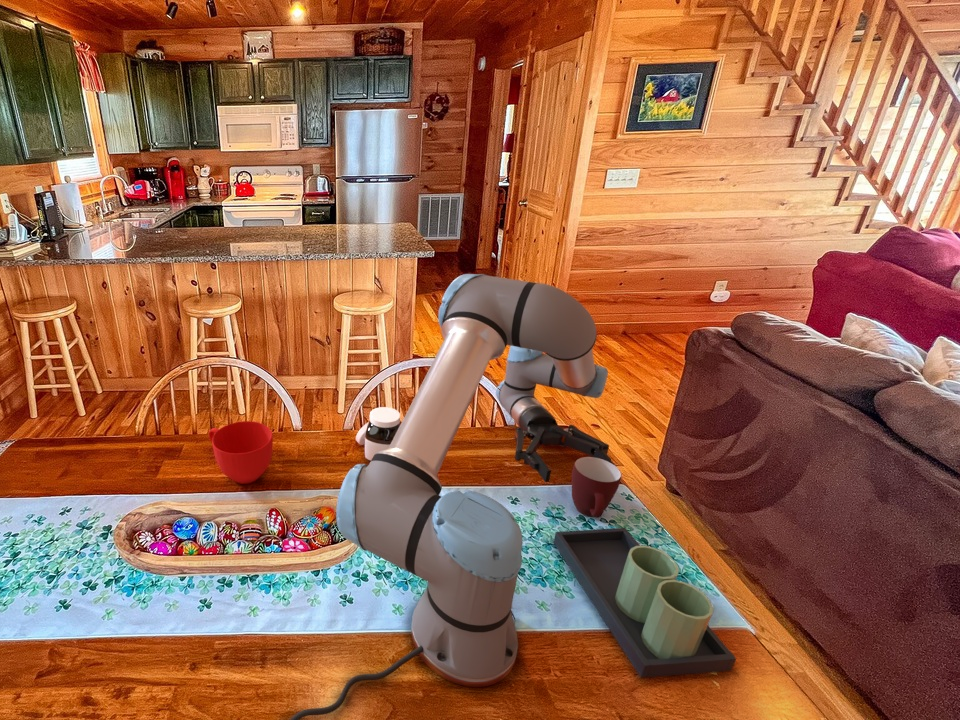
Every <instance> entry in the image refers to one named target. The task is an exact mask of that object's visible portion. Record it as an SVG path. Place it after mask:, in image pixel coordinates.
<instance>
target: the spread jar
mask: <svg viewBox="0 0 960 720" xmlns="http://www.w3.org/2000/svg"><path fill="white" fill-rule="evenodd" d="M401 423H402V420H401V413H400V412H399V411H398V410H397V409H396V408H393V407H390V406H389V407H388V406H380V407H376V408H374V409H373V408H372V410H371V411H370V412H369V421H368V422H366V423H364V424H363V425H362V427H361V428H360V429H359V430H358V432H357V433H356V436H355V441H356V442H357V443H358V445H360V446H364V457H365V459H366V461H368V462H369V463H370V462H371V460H372V458H373V456H374V454H375V453H376V452H379V451H383V450H387V449H388V448H389V446H390V444H391V442H392V440H393V438H394V436H395V435H396V433H397V431H398V429H399V427H400V425H401Z"/></svg>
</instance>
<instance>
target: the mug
mask: <svg viewBox="0 0 960 720" xmlns="http://www.w3.org/2000/svg"><path fill="white" fill-rule="evenodd" d="M615 465H616V464H615ZM615 465H613V464H612V463H610V462H608V461H606V460H603V459H600V458H595V457H593V456H582V457H579V458H577V459H576V460H575V461H574V464H573V467H572V472H571V499H572V501H573V504H574V506H575V509H576V511H577V512H578V513H579V514H581V515H582V516H585V517H588V518H598V519H599V518H601V517H602V516H603V514H604V511H606V510H607V508H608V507H609V506H610V504H611V502H612V500H613V498H614V497H615V495H616V493H617V492H618V489H619V486H620V483H621V480H622V472H621V470H620V469H619V467H618V466H617V465H616V466H617V467H616V466H615Z"/></svg>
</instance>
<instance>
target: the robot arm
mask: <svg viewBox="0 0 960 720" xmlns="http://www.w3.org/2000/svg"><path fill="white" fill-rule="evenodd" d="M438 324H439V326H440V332H441V336H442V338H443V341H442V343H441V345H440V347H439V349H438V351H437V353H436V355H435V357H434V359H433V361H432V362H431V364H430V367H429V369H428V371H427V373H426V374H425V376H424V379H423V381H422V382H421V384H420V386H419V388H418V390H417V392H416V394H415V395H414V398H413V400H412V402H411V404H410V405H409V407H408V409H407V411H406V413H405V415H404V417H403V419H402V420H401V422H402V423H401V425H400V427H399V429H398V431H397V433H396V435H395V436H394V438H393V440H392V442H391V444H390V446H389V448H388V449H387V450H383V451H379V452H376V453H375V454H374V456H373V458H372V460H371V462H369V464H366V463H357V464H355V465H354V466H353V467H351V468H350V469H349V471H348V472H347V474H346V475H345V477H344V479H343V481H342V484H341V487H340V489H339V492H338V497H337V502H336V508H335V509H336V515H335V517H336V524H337V528H338V531H339V532H340V534H341V536H342V537H343V538H344V539H345V540H347V541H349V542H351V543H352V544H354V545H356V546H357V547H359V548H360V549H361V550H362V551H364V552H367V551H368V552H369V553H371V554H373V555H375V556H377V557H379V558H381V559H383V560H385V561H386V562H389V563H391V564H392V565H395V566H397V567H398V568H400V569H402V570H404V571H406V572H408V573H409V574H412V575H414V576H415V577H417V578H420V579H421V580H424V581H426V582H427V587H426V588H425V590H424V592H423V593H422V595H421V597H420V598H419V599H418V601H417V603H416V604H415V606H414V609H413V612H412V617H411V624H410V625H411V626H410V627H411V628H410V631H411V639H412V643H413V646H414V648H415V649H413V650H411V652H408V653H407V654H406V655H404V656H403V657H401V658H400V659H398V660H397V661H396V662H394V663H393V664H392V665H391V666H390V667H388V668H386V669H385V670H382V671H380V672H377V673H361V674H358V675H355V676H353V677H352V678H350V679H349V680H348V681H347V682H346V683H345V685H344V687H343V689H342V691H341V693H340V695H339V697H338V699H337V700H335V702H334V703H332V704H331V705H329V706H326V707H315V708H306V709H303V710H301V711H298V712H297V713H296V714H294V715H293V716H292V717H291V718H290V719H289V720H300V719H303V718H305V717H309V716H321V715H322V716H323V715H327V714H331V713H333V712H336V710H338V709H339V708H340V707H341V706H342V705H343V703H344V702H345V700H346V697H347V696H348V693H349V691H350V689H351V688H352V687H353V685H355V684H357V683H359V682H362V681H377V680H381V679H383V678H385V677H387V676H390V675H391V674H392V673H394V672H395V671H397V670H398V669H399V668H400V667H402V666H403V665H405V664H407V662H409V661H411V660H412V659H414V658H415V657H416V656H419V657H420V659H421V660H422V661H423V663H424V664H425V665H426V666H427V667H428V668H429V669H430V670H431V671H432V672H434V673H435V674H436V675H438V676H439V677H441V678H443V679H445V680H446V681H448V682H451V683H453V684H455V685H460V686H464V687H470V688H482V687H483V688H485V687H488V686H492V685H494V684H497V683H499V682H501V681H502V680H504V679H505V678H506V677H507V676H508V675H509V674H510V673H511V671H512V670H513V668H514V666H515V664H516V660H517V655H518V650H519V639H518V633H517V628H516V625H515V623H517V622H516V621H517V620H516V616H515V615H514V612H513V610H512V607H513V603H514V597H515V592H516V586H517V581H518V576H519V572H520V570H521V568H522V565H523V564H522V563H523V561H522V560H523V559H522V558H523V556H522V553H523V552H522V551H523V542H524V541H523V539H524V538H523V533H522V529H521V526H520V525H519V523H517V521H516V518H515V517H514V515H513V513H511V511H510V510H509V509H508V508H507V507H506V506H504V505H503V504H502V503H500V502H499V501H497V500H496V499H494V498H492V497H490V496H488V495H486V494H483V493H480V492H477V491H472V490H465V491H464V492H462V491H461V490H453V491H449V492H447V493H445V494H443V495H442V496H441V495H440V494H441V493H442V489H443V486H442V483H441V481H440V479H439V476H438V474H439V472H440V469H441V468H442V465H443V463H444V461H445V458H446V456H447V454H448V452H449V451H450V448H451V445H452V443H453V441H454V439H455V437H456V435H457V432H458V430H459V428H460V426H461V424H462V422H463V420H464V417H465V415H466V413H467V411H468V408H469V406H470V404H471V402H472V401H473V398H474V396H475V393H476V391H477V389H478V387H479V385H480V382H481V380H482V378H483V376H484V374H485V371H486V369H487V367H488V365H489V363H490V362H491V361H493V360H497V359H498V358H500V357H501V356H502V355H503V354H504V352H505V350H506V347H507V346H509V351H508V355H507V357H506V366H505V375H504V380H502V381H500V383H499V385H498V386H496V390H495V396H496V398H497V400H498V402H499V404H500V406H501V407H502V408H503V409H504V410H505V411H506V413H507V414H508V415H509V416H510V417H511V418H512V420H513V419H514V420H513V421H514V422H515V424H516V425H517V426H518V427H516V428H515V431H514V439H515V441H516V447H515V453H514V460H515V461H517V462H521V460H522V461H523V464H524V465H525V466H530V468H531V469H532V470H535V471H536V472H537V473H538V474H539V476H540V477H541V479H542V480H543V481H544V483H549V482H550V478H551V474H552V470H551V468H549V466H548V465H547V463H546V462H545V461H544V459H543V458H542V457H541V456H540V455H539V453H538V452H537V451H538V450H539V449H540V447H541V445H543V446H560V447H562V448H567V447H568V448H570V449H573V450H575V451H577V452H580V453H582V454H585V455H588V456H589V457H595V458H600V459H603V460H606V461H608V462H610V463H612V464H613V465H615V466H616V467H617V468H618V466H617V465H616V464H615V463H614V462H613V461H612V458H611V457H610V456H609V454H608V453H609V448H610V445H609V444H608V443H607V442H604V441H603V440H600V439H598V438H596V437H594V436H592V435H590V434H588V433H586V432H584V431H582V430H581V429H579V428H577V427H576V425H573V424H569V425H568V428H567V427H566V428H564V427H562V426H559V424H558V422H557V420H556V418H555V416H554V415H552V413H550V412H549V410H548V409H547V408H546V407H545V406H544V405H543V404H542V403H541V402H540V401H539V399H537V397H535V392H536V388H537V385H540V386H543V387H547V388H551V389H555V390H560V391H563V392H568V393H571V394H575V395H576V394H577V395H580V396H582V397H587V398H588V397H589V398H593V399H599V398H601V396H602V395H603V393H604V390H605V387H606V384H607V380H608V376H609V370H608V369H607V367H605V366H601V365H598V364H596V363H595V359H594V351H593V348H594V346H595V345H596V342H597V335H598V333H597V326H596V323H595V320H594V318H593V317H592V315H591V313H590V311H588V310H587V309H586V307H585V306H584V305H583V304H582V303H580V301H579V300H577V299H576V298H575V297H573V296H572V295H571V294H569V293H568V292H566V291H564V290H563V289H561V288H558V287H556V286H553V285H550V284H547V283H541V282H533V281H526V280H519V279H513V278H507V277H506V278H505V277H499V276H492V275H488V274H486V273H478V274H477V273H475V274H474V273H464V274H462V275H461V274H460V275H459V276H458V277H456V278H454V280H452V282H451V283H450V284H449V285H448V287H447V288H446V290H445V292H444V294H443V296H442V298H441V304H440V305H439V309H438ZM498 388H499V389H500V390H501V391H500V390H499V389H498ZM526 438H527V439H529V440H531V442H530V443H529V445H528V446H527V448H526V449H525V450H523V449H524V440H526ZM563 438H564V440H563Z"/></svg>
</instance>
